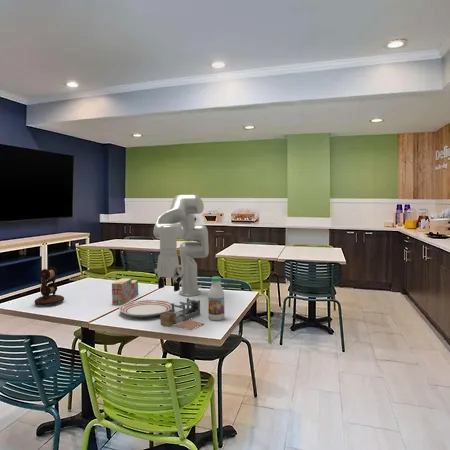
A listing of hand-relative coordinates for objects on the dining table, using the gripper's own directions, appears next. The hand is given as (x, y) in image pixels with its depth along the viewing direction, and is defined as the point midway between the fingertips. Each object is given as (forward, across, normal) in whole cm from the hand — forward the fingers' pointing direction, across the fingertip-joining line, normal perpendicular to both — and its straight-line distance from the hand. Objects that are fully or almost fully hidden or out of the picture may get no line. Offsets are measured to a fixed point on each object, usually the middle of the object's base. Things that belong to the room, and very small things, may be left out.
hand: (168, 289), depth 164 cm
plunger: (+16, 0, +11) cm, 19 cm away
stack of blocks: (+16, -49, +16) cm, 54 cm away
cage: (+16, 0, +12) cm, 20 cm away
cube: (+16, 0, 0) cm, 16 cm away
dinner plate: (+16, -22, +7) cm, 28 cm away
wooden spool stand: (+16, -78, -13) cm, 81 cm away
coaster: (+16, +9, +4) cm, 19 cm away
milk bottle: (+16, +13, +19) cm, 28 cm away
